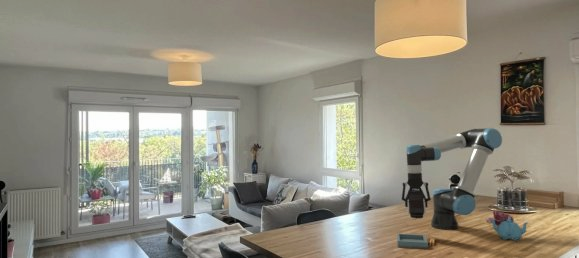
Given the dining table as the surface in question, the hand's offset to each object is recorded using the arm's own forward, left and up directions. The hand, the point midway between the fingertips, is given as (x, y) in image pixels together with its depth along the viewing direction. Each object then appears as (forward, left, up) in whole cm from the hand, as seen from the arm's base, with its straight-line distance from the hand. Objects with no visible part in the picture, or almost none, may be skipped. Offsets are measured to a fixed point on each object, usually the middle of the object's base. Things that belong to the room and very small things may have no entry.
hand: (416, 213), depth 197 cm
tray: (+4, +15, -13) cm, 20 cm away
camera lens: (0, 0, -3) cm, 3 cm away
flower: (-49, -27, -13) cm, 57 cm away
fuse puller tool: (-7, +11, -13) cm, 18 cm away
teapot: (-47, -4, -13) cm, 49 cm away
